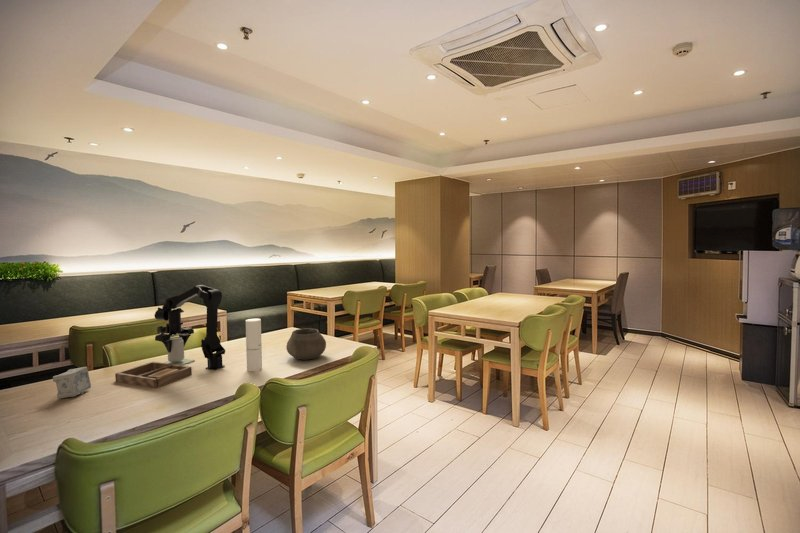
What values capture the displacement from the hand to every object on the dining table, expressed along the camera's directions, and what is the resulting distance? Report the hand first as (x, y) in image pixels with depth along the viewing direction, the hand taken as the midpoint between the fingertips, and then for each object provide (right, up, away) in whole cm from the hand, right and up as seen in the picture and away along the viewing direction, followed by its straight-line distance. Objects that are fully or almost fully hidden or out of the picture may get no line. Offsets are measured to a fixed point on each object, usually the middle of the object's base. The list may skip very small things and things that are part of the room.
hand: (175, 350), depth 201 cm
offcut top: (+8, -6, -24) cm, 26 cm away
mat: (0, -7, 0) cm, 7 cm away
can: (0, -6, 0) cm, 6 cm away
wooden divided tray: (+3, -8, -22) cm, 24 cm away
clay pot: (+66, -7, +10) cm, 67 cm away
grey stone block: (-20, -10, -40) cm, 46 cm away
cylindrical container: (+44, -8, -9) cm, 46 cm away
